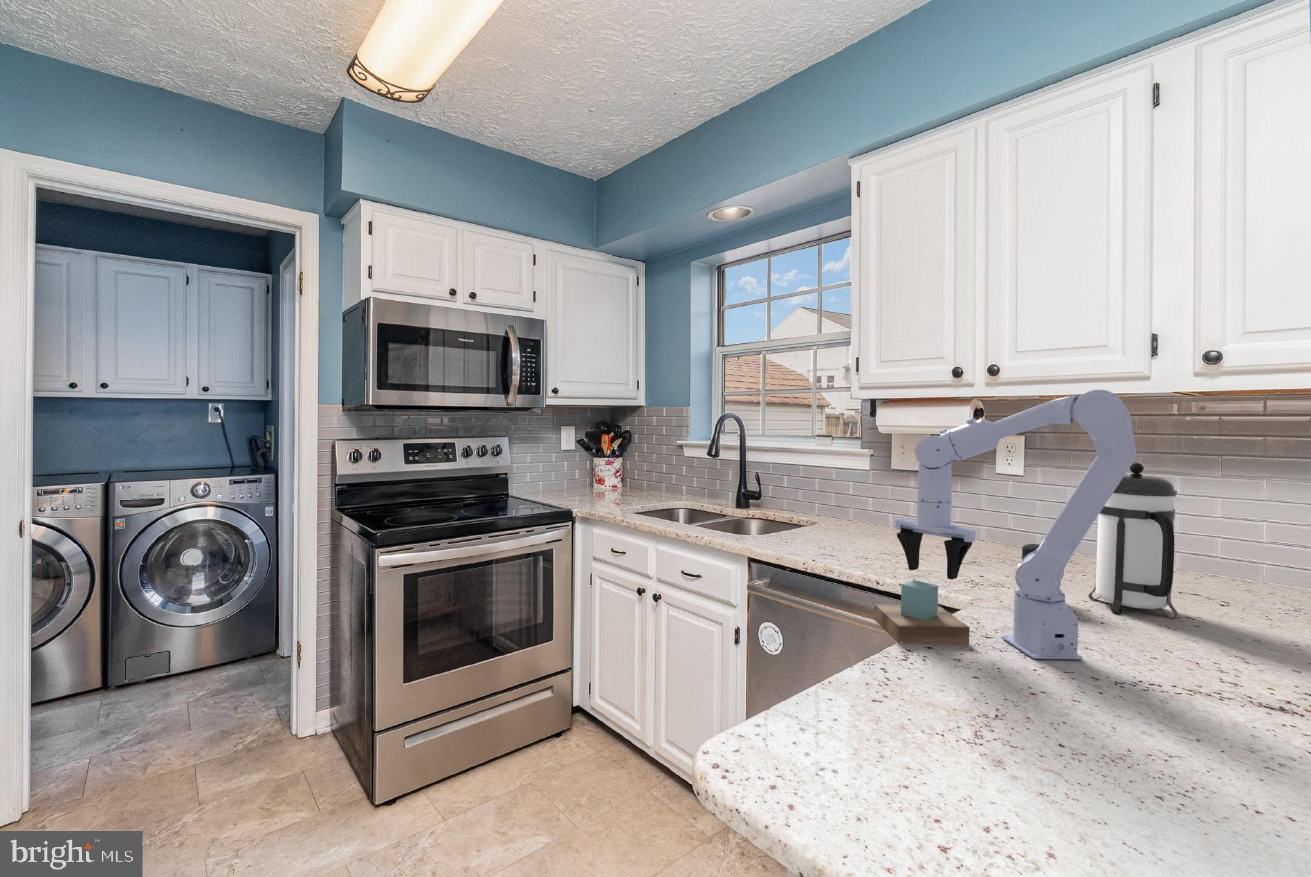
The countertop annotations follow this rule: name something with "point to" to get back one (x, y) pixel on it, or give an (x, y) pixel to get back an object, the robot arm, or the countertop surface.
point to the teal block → (919, 600)
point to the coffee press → (1137, 544)
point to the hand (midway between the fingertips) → (932, 573)
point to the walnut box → (921, 626)
